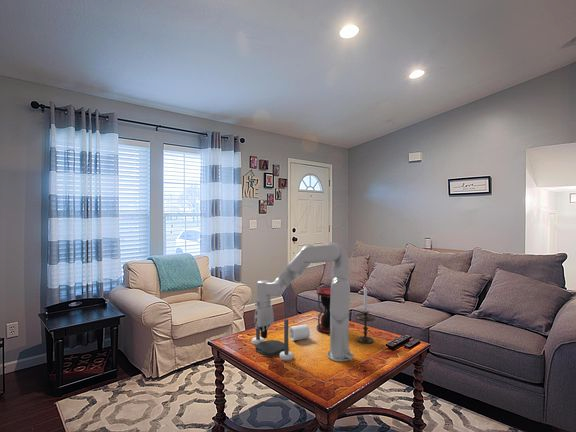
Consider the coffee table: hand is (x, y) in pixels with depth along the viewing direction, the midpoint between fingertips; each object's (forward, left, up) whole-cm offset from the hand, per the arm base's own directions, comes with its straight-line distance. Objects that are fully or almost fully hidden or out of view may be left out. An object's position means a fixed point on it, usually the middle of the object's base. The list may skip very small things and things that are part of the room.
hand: (264, 337), depth 184 cm
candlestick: (-26, -54, -8) cm, 60 cm away
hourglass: (0, -51, -8) cm, 52 cm away
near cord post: (-13, -5, -8) cm, 16 cm away
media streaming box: (0, -5, -9) cm, 10 cm away
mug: (+3, -27, -8) cm, 28 cm away
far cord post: (+13, -5, -8) cm, 16 cm away
